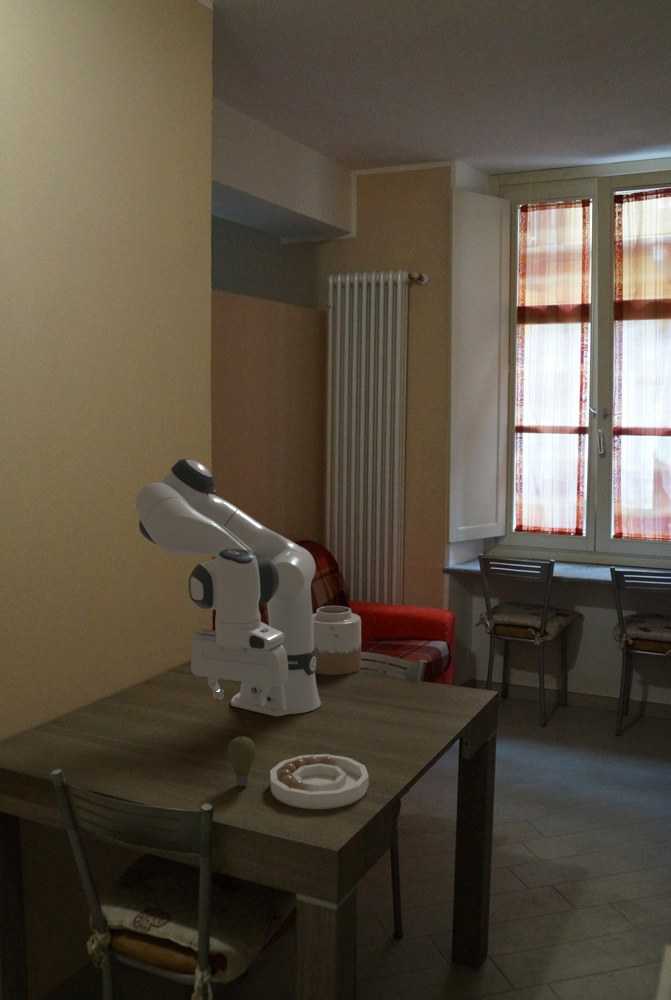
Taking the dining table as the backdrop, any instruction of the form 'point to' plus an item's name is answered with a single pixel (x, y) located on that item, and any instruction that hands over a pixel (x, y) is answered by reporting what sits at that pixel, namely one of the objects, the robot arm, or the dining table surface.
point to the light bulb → (241, 758)
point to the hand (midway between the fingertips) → (239, 701)
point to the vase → (337, 640)
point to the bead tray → (319, 781)
